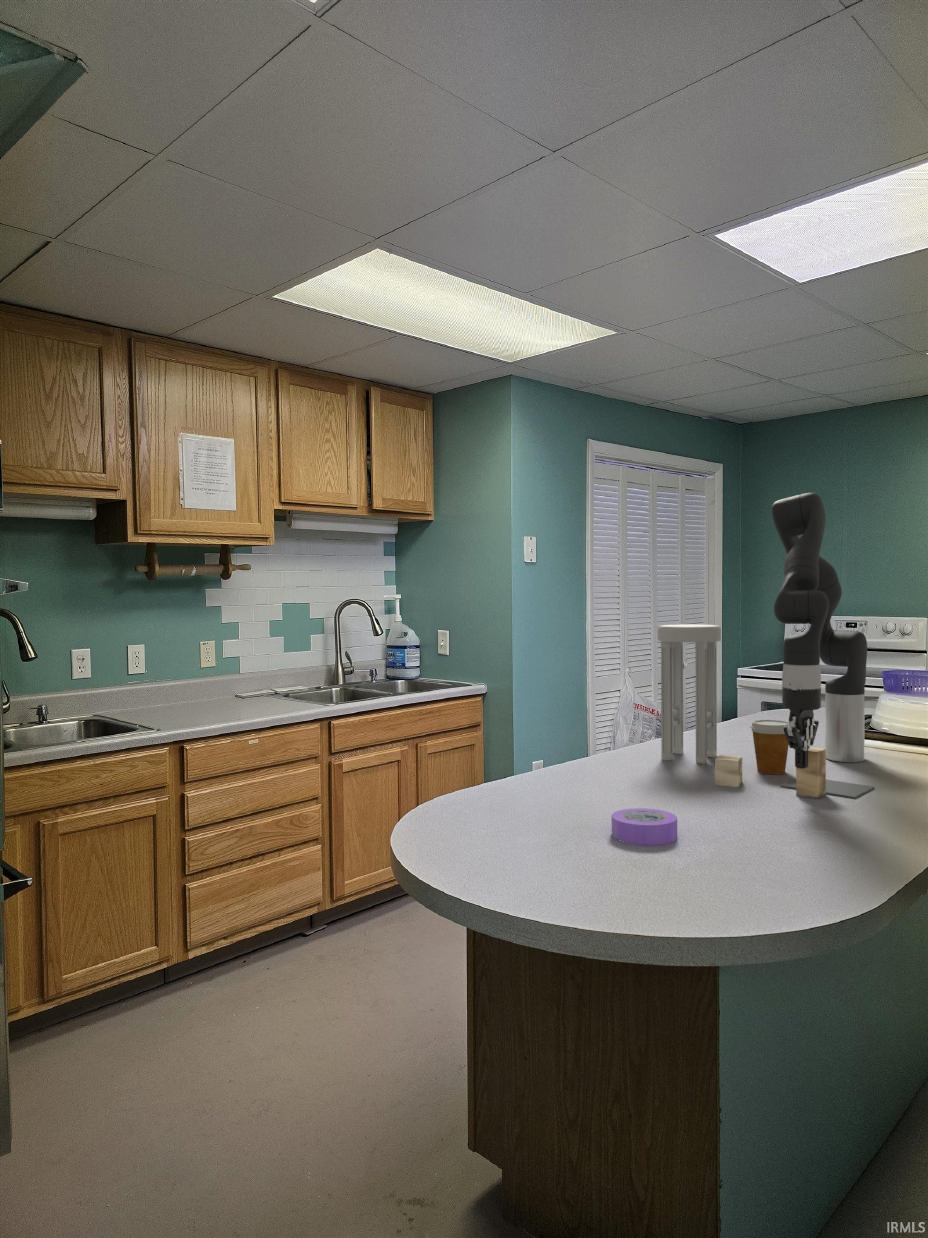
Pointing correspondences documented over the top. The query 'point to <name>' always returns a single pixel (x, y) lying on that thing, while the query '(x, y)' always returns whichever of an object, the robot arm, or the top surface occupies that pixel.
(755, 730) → the disposable coffee cup
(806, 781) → the oak block
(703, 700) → the stool
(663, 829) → the masking tape
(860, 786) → the mat
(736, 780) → the maple block
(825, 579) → the robot arm
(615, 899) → the top surface
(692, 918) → the top surface
